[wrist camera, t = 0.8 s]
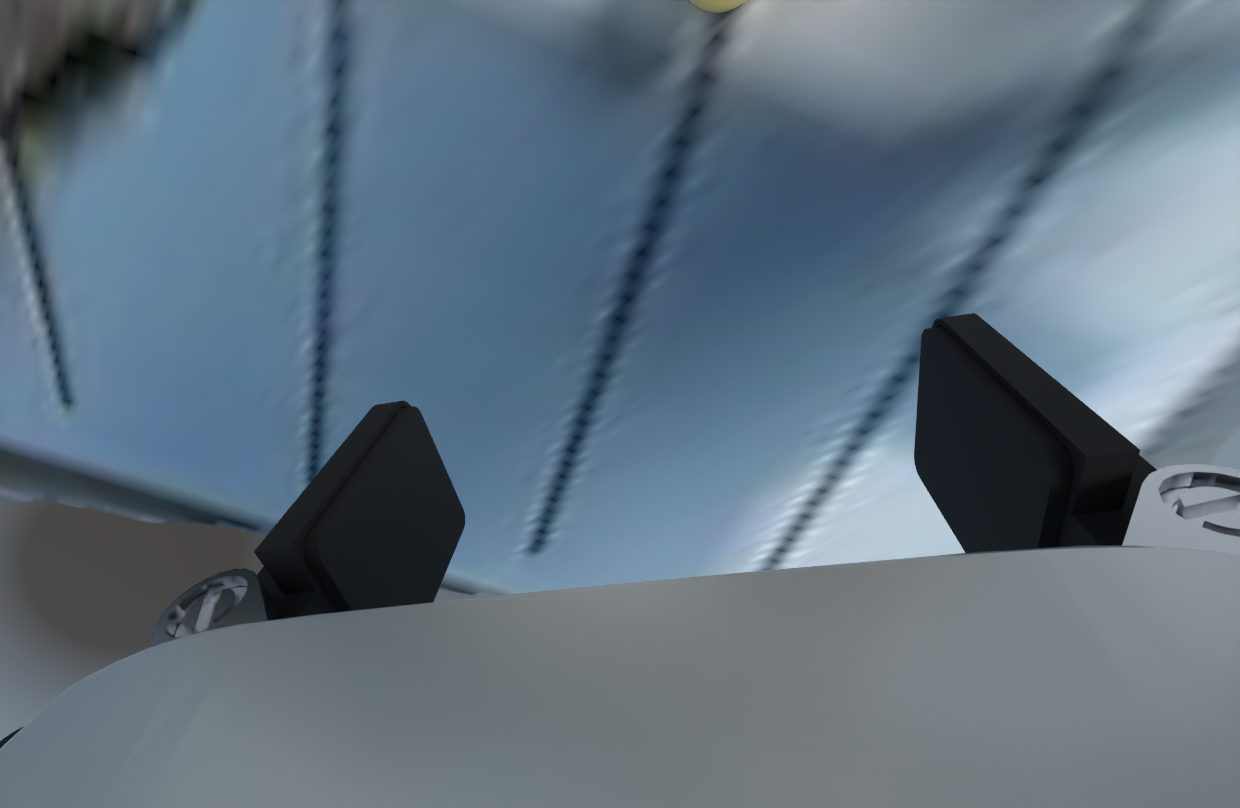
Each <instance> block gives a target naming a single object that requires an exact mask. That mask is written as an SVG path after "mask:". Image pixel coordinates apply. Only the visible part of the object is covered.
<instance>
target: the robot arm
mask: <svg viewBox="0 0 1240 808" xmlns="http://www.w3.org/2000/svg"><path fill="white" fill-rule="evenodd" d="M1139 452H1140V450H1139V449H1138V448H1137V447H1136V446H1135V445H1133V444H1132V443H1131V442H1130V441H1129V440H1127V439H1126V438H1125V437H1124V436H1123V435H1121V434H1120V433H1119V432H1118V431H1117V430H1115V429H1114V428H1113V427H1112V426H1110V425H1109V424H1108V423H1107V422H1106V421H1104V420H1103V419H1102V418H1101V417H1100V416H1098V415H1097V414H1096V413H1095V412H1094V411H1092V410H1091V409H1090V408H1089V407H1088V406H1086V405H1085V404H1084V403H1083V402H1082V401H1080V400H1079V399H1078V398H1077V397H1076V396H1074V395H1073V394H1072V393H1071V392H1069V391H1068V390H1067V389H1066V388H1065V387H1063V386H1062V385H1061V384H1060V383H1059V382H1057V381H1056V380H1055V379H1054V378H1053V377H1051V376H1050V375H1049V374H1048V373H1047V372H1045V371H1044V370H1043V369H1042V368H1041V367H1039V366H1038V365H1037V364H1036V363H1035V362H1033V361H1032V360H1031V359H1030V358H1028V357H1027V356H1026V355H1025V354H1024V353H1022V352H1021V351H1020V350H1019V349H1018V348H1016V347H1015V346H1014V345H1013V344H1012V343H1010V342H1009V341H1008V340H1007V339H1006V338H1004V337H1003V336H1002V335H1001V334H1000V333H998V332H997V331H996V330H995V329H994V328H992V327H991V326H990V325H989V324H987V323H986V322H985V321H984V320H983V319H981V318H980V317H979V316H978V315H976V314H974V313H972V314H965V315H959V316H952V317H946V318H939V319H936V320H935V321H934V324H933V326H932V328H929V329H925V330H924V331H923V333H922V339H921V354H920V370H919V386H918V402H917V418H916V435H915V451H914V460H915V466H916V470H917V473H918V475H919V477H920V479H921V480H922V482H923V484H924V485H925V487H926V489H927V490H928V492H929V493H930V495H931V497H932V498H933V500H934V502H935V503H936V505H937V507H938V508H939V510H940V512H941V513H942V515H943V516H944V518H945V520H946V521H947V523H948V525H949V526H950V528H951V530H952V531H953V533H954V535H955V536H956V538H957V539H958V541H959V543H960V544H961V546H962V548H963V549H964V551H965V553H962V554H950V555H939V556H927V557H916V558H905V559H893V560H882V561H870V562H859V563H847V564H836V565H825V566H813V567H802V568H790V569H779V570H768V571H757V572H745V573H734V574H723V575H712V576H701V577H690V578H679V579H668V580H657V581H646V582H636V583H625V584H614V585H604V586H593V587H583V588H573V589H562V590H552V591H542V592H532V593H521V594H511V595H501V596H491V597H481V598H471V599H461V600H452V601H443V602H433V601H434V599H435V596H436V594H437V592H438V589H439V587H440V584H441V582H442V580H443V577H444V575H445V572H446V570H447V568H448V565H449V563H450V560H451V558H452V556H453V553H454V551H455V549H456V546H457V544H458V541H459V539H460V537H461V534H462V532H463V529H464V526H465V514H464V510H463V507H462V505H461V503H460V501H459V498H458V496H457V494H456V492H455V489H454V487H453V485H452V482H451V480H450V478H449V476H448V473H447V471H446V469H445V466H444V464H443V462H442V460H441V457H440V455H439V453H438V450H437V448H436V446H435V444H434V441H433V439H432V437H431V435H430V432H429V430H428V428H427V425H426V423H425V421H424V419H423V416H422V414H421V412H420V410H419V409H418V408H417V407H415V406H413V407H411V406H410V405H409V403H408V402H406V401H398V402H391V403H385V404H378V405H375V406H373V407H372V408H371V409H370V411H369V412H368V413H367V414H366V416H365V417H364V418H363V419H362V420H361V422H360V423H359V424H358V425H357V427H356V428H355V429H354V430H353V431H352V433H351V434H350V435H349V436H348V438H347V439H346V440H345V441H344V442H343V444H342V445H341V446H340V447H339V449H338V450H337V451H336V452H335V453H334V455H333V456H332V457H331V458H330V459H329V461H328V462H327V463H326V464H325V466H324V467H323V468H322V469H321V470H320V472H319V473H318V474H317V475H316V477H315V478H314V479H313V480H312V481H311V483H310V484H309V485H308V486H307V488H306V489H305V490H304V491H303V492H302V494H301V495H300V496H299V497H298V499H297V500H296V501H295V502H294V503H293V505H292V506H291V507H290V508H289V510H288V511H287V512H286V513H285V514H284V516H283V517H282V518H281V519H280V521H279V522H278V523H277V524H276V525H275V527H274V528H273V529H272V530H271V532H270V533H269V534H268V535H267V536H266V538H265V539H264V540H263V541H262V543H261V544H260V545H259V546H258V547H257V549H256V550H255V551H254V553H255V554H256V555H257V557H258V558H259V560H260V561H261V563H262V564H263V565H264V567H263V568H262V570H261V571H260V572H259V573H258V575H256V574H255V572H254V571H252V570H249V569H246V568H243V569H232V570H228V571H224V572H220V573H218V574H216V575H213V576H211V577H209V578H207V579H204V580H203V581H201V582H199V583H198V584H196V585H194V586H193V587H191V588H189V589H188V590H187V591H185V592H184V593H183V594H182V595H180V596H179V597H178V598H176V599H175V600H174V601H173V602H172V603H171V604H170V605H169V606H168V607H167V608H166V609H165V610H164V611H163V612H162V614H161V616H160V617H159V619H158V620H157V622H156V623H155V625H154V629H153V632H152V644H151V648H148V649H146V650H143V651H141V652H139V653H136V654H134V655H132V656H129V657H127V658H124V659H122V660H120V661H117V662H115V663H113V664H111V665H109V666H107V667H105V668H103V669H102V670H100V671H97V672H95V673H94V674H92V675H90V676H88V677H86V678H84V679H83V680H80V681H79V682H77V683H75V684H74V685H72V686H71V687H69V688H68V689H67V690H65V691H64V692H63V693H61V694H60V695H59V696H57V697H56V698H55V699H54V700H53V701H52V702H50V703H49V704H48V705H47V706H46V707H45V708H44V709H42V710H41V711H40V712H39V713H38V714H37V715H36V716H35V717H34V718H33V719H32V720H30V721H29V722H28V723H27V724H26V725H25V726H24V727H22V728H20V729H18V730H16V731H15V732H13V733H11V734H10V735H8V736H7V737H5V738H4V739H3V740H1V741H0V808H1240V471H1239V470H1236V469H1232V468H1225V467H1219V466H1212V465H1204V464H1181V465H1175V466H1169V467H1163V468H1161V469H1159V470H1156V469H1155V468H1154V467H1153V466H1152V465H1150V464H1149V463H1148V462H1147V461H1146V460H1145V459H1143V458H1142V457H1141V456H1140V455H1139Z"/></svg>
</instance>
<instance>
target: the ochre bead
mask: <svg viewBox="0 0 1240 808" xmlns="http://www.w3.org/2000/svg"><path fill="white" fill-rule="evenodd" d="M689 1H690V2H691V3H692V4H693V5H694V6H696V7H697V8H699V9H701V10H704V11H707V12H712V13H721V12H727V11H730V10H733V9H735V8H737V7H738V6H740V5H742V4H743V3H745V2H747V1H748V0H689Z"/></svg>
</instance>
